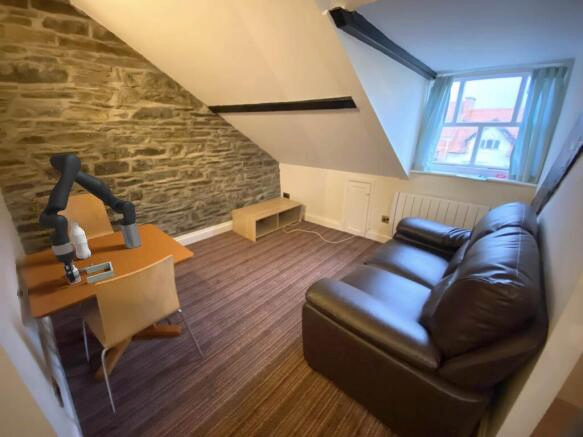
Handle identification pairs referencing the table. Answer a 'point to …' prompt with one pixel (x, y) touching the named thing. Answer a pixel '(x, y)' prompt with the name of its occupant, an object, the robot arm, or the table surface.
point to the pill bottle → (76, 274)
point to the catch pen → (102, 275)
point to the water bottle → (79, 241)
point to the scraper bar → (83, 269)
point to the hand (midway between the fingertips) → (73, 277)
